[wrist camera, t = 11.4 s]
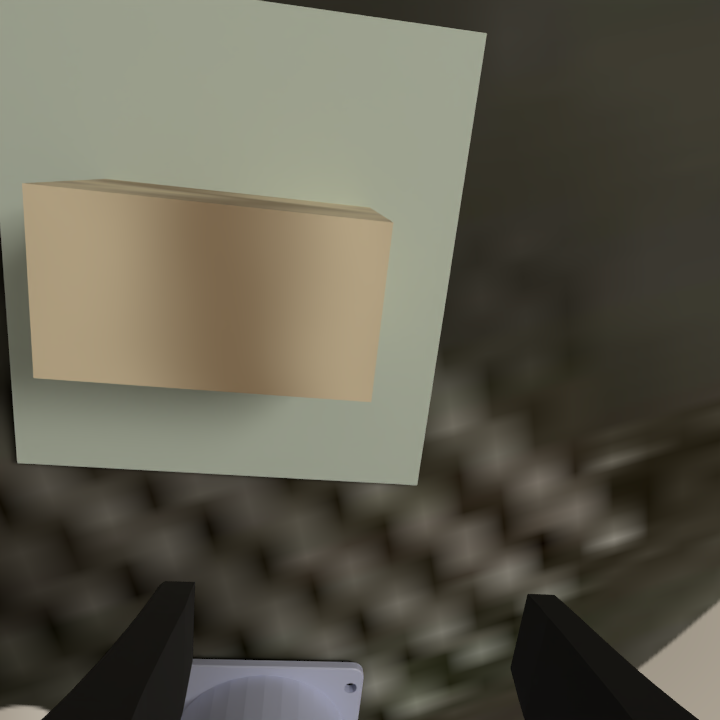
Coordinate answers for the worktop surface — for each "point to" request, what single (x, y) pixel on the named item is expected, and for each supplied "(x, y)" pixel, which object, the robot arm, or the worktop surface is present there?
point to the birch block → (204, 289)
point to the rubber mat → (246, 176)
